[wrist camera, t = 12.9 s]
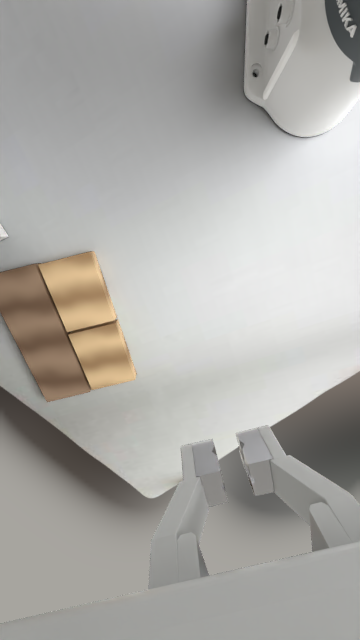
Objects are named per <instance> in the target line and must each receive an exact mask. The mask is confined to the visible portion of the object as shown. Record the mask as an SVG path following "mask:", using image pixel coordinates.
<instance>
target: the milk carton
mask: <svg viewBox="0 0 360 640" xmlns="http://www.w3.org/2000/svg"><path fill="white" fill-rule="evenodd" d="M7 237H8V235H7V233H6V232H5V230H4V229H3V227H2V225H1V224H0V241H1V240H3V239H5V238H7Z"/></svg>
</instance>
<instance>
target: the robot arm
mask: <svg viewBox="0 0 360 640" xmlns="http://www.w3.org/2000/svg"><path fill="white" fill-rule="evenodd" d="M252 73H256V75H257V77H254V76H253V74H252ZM244 93H245V95H246V97H247V98H248V99H249V100H250V101H252V102H253V103H255V104H257V105H259V106H261V107H263V108H264V109H265V110H266V111H267V112H268V114H269V115H270V116H271V118H272V119H273V120H274V122H275V123H276V124H277V125H278V126H279V127H280V128H282V129H283V130H284V131H286V132H288V133H290V134H292V135H295V136H300V137H312V136H317V135H320V134H323V133H325V132H327V131H329V130H331V129H332V128H334V127H335V126H336V125H338V124H339V123H340V122H341V121H342V120H343V119H344V118H345V117H346V116H347V114H348V113H349V112H350V111H351V109H352V108H353V106H354V105H355V104H356V102H357V101H358V100H359V99H360V0H247V14H246V41H245V69H244ZM236 437H237V441H238V444H239V451H240V455H241V459H242V462H243V465H244V468H245V470H246V471H247V474H248V479H249V482H250V485H251V487H252V490H253V493H254V496H257V495H262V494H267V493H272V492H275V494H276V495H277V496H279V497H280V498H281V499H282V500H283V501H284V502H285V503H286V504H287V505H288V506H289V507H290V508H291V509H292V510H293V511H295V512H296V513H297V514H298V515H299V516H300V517H301V518H302V519H303V520H304V521H305V522H306V523H307V524H309V526H310V528H311V540H312V552H310V553H305V554H301V555H297V556H292V557H288V558H283V559H279V560H275V561H270V562H266V563H262V564H257V565H253V566H249V567H244V568H240V569H236V570H231V571H227V572H222V573H218V574H214V575H209V574H208V571H207V568H206V565H205V562H204V559H203V556H202V553H201V550H200V547H199V543H200V539H201V536H202V533H203V529H204V525H205V522H206V518H207V515H208V511H209V507H212V506H216V505H219V504H223V503H227V502H228V499H227V495H226V491H225V487H224V483H223V478H222V474H221V470H220V466H219V462H218V458H217V454H216V450H215V446H214V442H213V439H209V440H205V441H200V442H195V443H191V444H187V445H182V446H181V458H182V471H183V481H180V482H179V484H178V486H177V488H176V491H175V492H174V494H173V497H172V499H171V501H170V503H169V505H168V507H167V509H166V511H165V513H164V515H163V517H162V519H161V521H160V523H159V525H158V527H157V529H156V531H155V533H154V535H153V538H152V540H151V553H150V571H149V589H148V590H144V591H140V592H135V593H131V594H127V595H122V596H118V597H114V598H110V599H105V600H101V601H97V602H92V603H88V604H84V605H79V606H74V607H70V608H66V609H61V610H57V611H53V612H48V613H44V614H39V615H36V616H31V617H26V618H23V619H18V620H13V621H9V622H4V623H0V640H360V505H359V503H358V502H357V501H356V500H355V498H354V497H353V496H352V494H350V493H349V492H347V491H346V490H344V489H342V488H341V487H339V486H338V485H336V484H335V483H333V482H331V481H330V480H328V479H327V478H325V477H323V476H322V475H320V474H319V473H317V472H315V471H314V470H312V469H311V468H309V467H308V466H306V465H305V464H303V463H301V462H300V461H298V460H297V459H295V458H293V457H292V456H290V455H289V456H286V454H285V453H284V451H283V449H282V448H281V446H280V444H279V443H278V441H277V439H276V437H275V436H274V434H273V432H272V430H271V429H270V427H269V426H268V425H266V426H262V427H258V428H254V429H250V430H246V431H242V432H238V433H236Z"/></svg>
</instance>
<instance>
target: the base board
mask: <svg viewBox="0 0 360 640" xmlns="http://www.w3.org/2000/svg"><path fill="white" fill-rule="evenodd" d="M39 264H41V263H38V264H32V265H28V266H24V267H20V268H16V269H12V270H8V271H4V272H0V312H1V314H2V316H3V318H4V320H5V322H6V324H7V326H8V328H9V330H10V332H11V334H12V336H13V337H14V339H15V341H16V343H17V345H18V347H19V349H20V351H21V353H22V355H23V357H24V359H25V361H26V363H27V365H28V366H29V368H30V370H31V372H32V374H33V376H34V378H35V380H36V382H37V384H38V386H39V388H40V390H41V392H42V394H43V395H44V397H45V399H46V401H47V402H50V401H54V400H58V399H63V398H67V397H71V396H75V395H79V394H83V393H87V392H90V391H91V387H90V384H89V382H88V380H87V377H86V375H85V373H84V370H83V368H82V366H81V363H80V361H79V359H78V356H77V354H76V352H75V349H74V347H73V345H72V342H71V340H70V338H69V336H68V335H69V334H70V333H71V332H70V331H69V332H67V331H66V329H65V326H64V324H63V322H62V319H61V317H60V315H59V312H58V310H57V308H56V305H55V303H54V301H53V298H52V296H51V294H50V291H49V289H48V287H47V284H46V282H45V280H44V277H43V275H42V273H41V270H40V268H39V266H38V265H39Z"/></svg>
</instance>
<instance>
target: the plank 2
mask: <svg viewBox="0 0 360 640" xmlns="http://www.w3.org/2000/svg"><path fill="white" fill-rule="evenodd" d="M68 336H69V338H70V340H71V342H72V345H73V347H74V349H75V352H76V354H77V356H78V359H79V361H80V363H81V366H82V368H83V370H84V373H85V375H86V377H87V380H88V382H89V384H90V387H91V389H92V390H94V389H99V388H103V387H107V386H111V385H115V384H119V383H124V382H128V381H132V380H135V378H136V374H137V373H136V371H135V368H134V365H133V362H132V359H131V356H130V353H129V350H128V347H127V345H126V342H125V339H124V336H123V333H122V330H121V327H120V324H119V321H118V320H114V321H110V322H106V323H102V324H98V325H94V326H90V327H86V328H81V329H77V330H73V331H72V332H71V333H70V334H69V335H68Z"/></svg>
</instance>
